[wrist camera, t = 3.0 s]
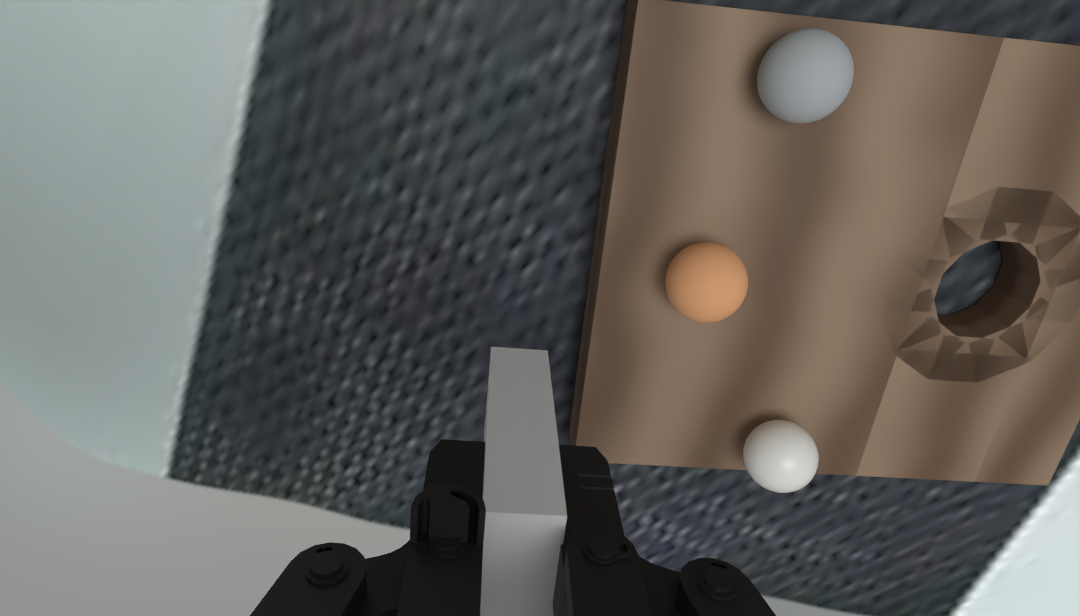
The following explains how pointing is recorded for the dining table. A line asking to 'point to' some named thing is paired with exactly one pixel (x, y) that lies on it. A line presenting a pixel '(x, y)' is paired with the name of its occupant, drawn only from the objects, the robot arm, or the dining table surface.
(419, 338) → the dining table surface
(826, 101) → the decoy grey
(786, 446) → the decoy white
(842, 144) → the board
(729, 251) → the ball
